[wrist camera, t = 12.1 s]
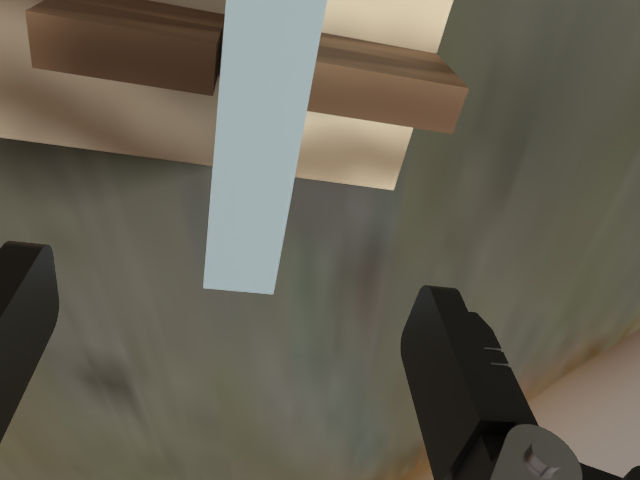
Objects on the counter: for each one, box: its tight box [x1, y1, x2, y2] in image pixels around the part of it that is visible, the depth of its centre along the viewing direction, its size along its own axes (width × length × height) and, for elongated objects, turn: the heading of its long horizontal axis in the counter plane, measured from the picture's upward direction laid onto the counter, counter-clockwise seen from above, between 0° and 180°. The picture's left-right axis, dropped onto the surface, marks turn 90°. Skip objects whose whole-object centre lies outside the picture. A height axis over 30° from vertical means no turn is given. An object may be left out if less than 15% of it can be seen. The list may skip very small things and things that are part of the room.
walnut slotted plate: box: [25, 0, 469, 134], centre depth 26 cm, size 2×20×6 cm, turn 79°
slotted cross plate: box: [203, 0, 327, 294], centre depth 23 cm, size 14×3×13 cm, turn 169°
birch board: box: [0, 0, 453, 190], centre depth 28 cm, size 16×32×1 cm, turn 79°
